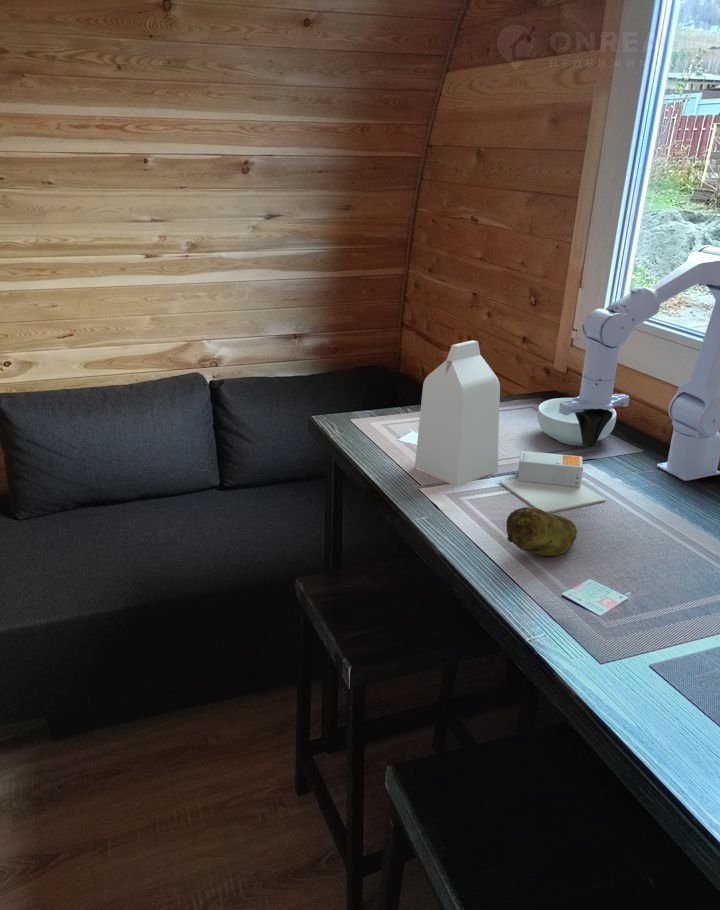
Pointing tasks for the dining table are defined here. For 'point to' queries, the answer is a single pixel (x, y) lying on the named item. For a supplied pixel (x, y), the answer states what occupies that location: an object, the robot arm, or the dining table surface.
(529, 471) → the skincare box
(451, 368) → the milk
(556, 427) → the cereal bowl
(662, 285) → the robot arm
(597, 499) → the mat
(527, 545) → the potato
